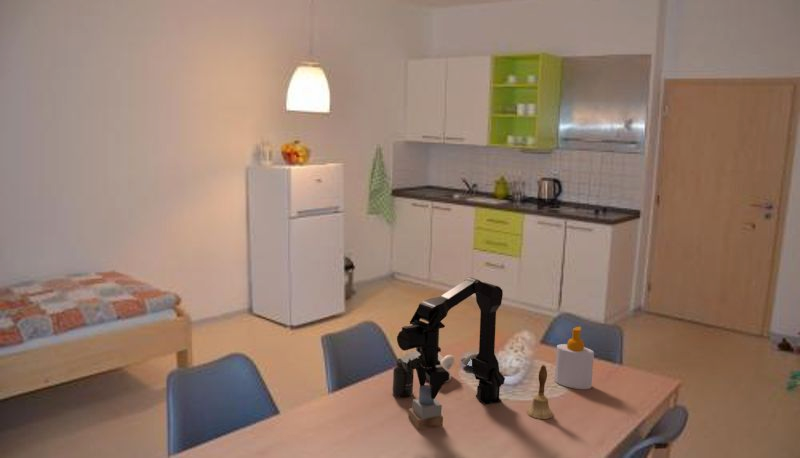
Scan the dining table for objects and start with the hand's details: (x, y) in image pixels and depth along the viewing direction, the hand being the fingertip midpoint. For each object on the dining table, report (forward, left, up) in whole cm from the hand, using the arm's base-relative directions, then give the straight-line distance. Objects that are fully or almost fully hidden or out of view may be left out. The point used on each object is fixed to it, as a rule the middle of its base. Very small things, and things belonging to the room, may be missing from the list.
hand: (427, 392), depth 194 cm
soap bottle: (-61, -12, -10) cm, 63 cm away
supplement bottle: (0, -21, -10) cm, 23 cm away
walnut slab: (0, 0, -10) cm, 10 cm away
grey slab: (0, 0, -6) cm, 6 cm away
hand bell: (-37, +5, -10) cm, 39 cm away
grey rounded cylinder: (0, 0, -3) cm, 3 cm away
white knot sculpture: (-16, -30, -10) cm, 35 cm away
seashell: (-35, -37, -10) cm, 51 cm away
